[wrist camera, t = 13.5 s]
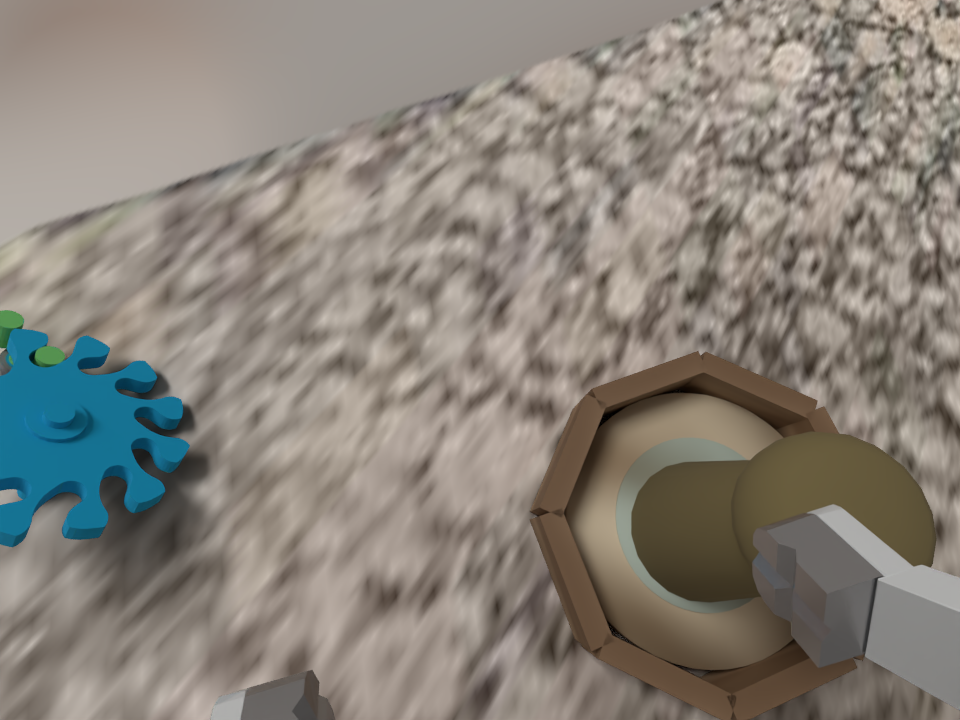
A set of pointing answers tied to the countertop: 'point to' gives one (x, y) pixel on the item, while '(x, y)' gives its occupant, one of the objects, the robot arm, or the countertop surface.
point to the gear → (75, 431)
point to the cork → (770, 510)
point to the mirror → (611, 551)
